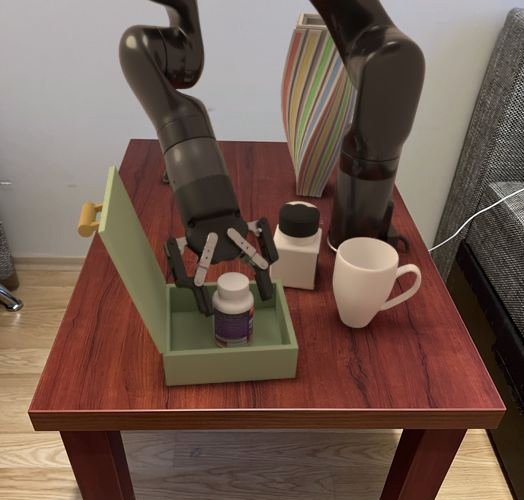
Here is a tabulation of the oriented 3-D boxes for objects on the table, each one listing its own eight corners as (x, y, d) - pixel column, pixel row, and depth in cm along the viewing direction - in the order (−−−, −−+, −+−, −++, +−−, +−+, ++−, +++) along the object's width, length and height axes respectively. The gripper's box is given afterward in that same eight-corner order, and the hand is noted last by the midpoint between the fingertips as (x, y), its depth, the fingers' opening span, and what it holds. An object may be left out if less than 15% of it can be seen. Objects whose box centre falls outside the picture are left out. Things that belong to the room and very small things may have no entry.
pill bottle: (257, 347, 73) (260, 290, 67) (219, 355, 72) (218, 297, 65) (245, 322, 77) (247, 265, 71) (209, 329, 76) (206, 272, 69)
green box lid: (115, 165, 63) (80, 175, 64) (104, 230, 53) (63, 241, 53) (165, 281, 75) (136, 288, 76) (165, 352, 65) (131, 361, 65)
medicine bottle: (313, 291, 85) (322, 222, 76) (268, 285, 85) (272, 217, 77) (317, 265, 90) (326, 199, 82) (275, 260, 90) (279, 193, 82)
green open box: (278, 308, 81) (280, 279, 78) (295, 377, 71) (298, 348, 67) (166, 313, 79) (163, 284, 76) (166, 386, 69) (162, 355, 65)
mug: (326, 334, 77) (337, 267, 69) (327, 299, 83) (337, 234, 76) (410, 342, 77) (431, 276, 69) (405, 306, 83) (423, 241, 75)
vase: (342, 178, 114) (366, 14, 94) (342, 209, 104) (369, 33, 84) (278, 172, 115) (288, 8, 94) (272, 203, 105) (282, 27, 84)
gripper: (151, 183, 63) (194, 319, 63) (261, 163, 68) (300, 288, 68) (142, 204, 70) (180, 326, 70) (242, 185, 75) (277, 298, 75)
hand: (239, 307), depth 69 cm, fingers open, 7 cm apart
